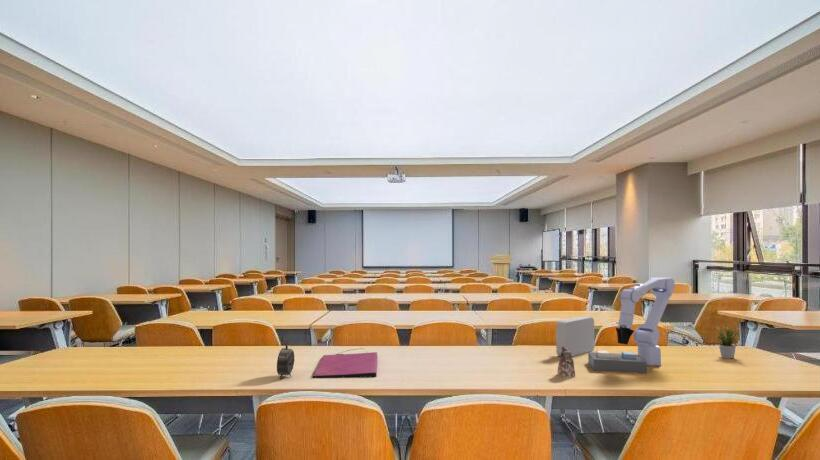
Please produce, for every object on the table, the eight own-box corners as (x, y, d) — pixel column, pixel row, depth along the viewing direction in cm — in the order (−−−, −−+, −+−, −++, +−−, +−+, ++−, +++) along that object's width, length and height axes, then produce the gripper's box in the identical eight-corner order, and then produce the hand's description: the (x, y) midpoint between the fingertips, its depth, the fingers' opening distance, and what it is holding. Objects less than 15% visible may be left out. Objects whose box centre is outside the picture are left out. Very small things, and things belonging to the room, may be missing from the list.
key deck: (638, 365, 208) (637, 354, 209) (646, 373, 195) (646, 362, 195) (588, 362, 213) (588, 352, 213) (593, 370, 200) (593, 359, 200)
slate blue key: (633, 362, 205) (633, 352, 205) (636, 364, 200) (636, 354, 200) (621, 361, 206) (621, 351, 206) (624, 364, 201) (624, 354, 201)
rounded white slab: (581, 347, 245) (581, 315, 246) (594, 350, 239) (594, 316, 240) (552, 355, 227) (551, 320, 228) (565, 358, 221) (565, 322, 222)
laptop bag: (376, 369, 189) (312, 371, 187) (376, 378, 189) (312, 381, 187) (377, 347, 229) (324, 349, 227) (377, 355, 229) (324, 357, 227)
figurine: (562, 378, 188) (562, 349, 188) (554, 373, 195) (554, 346, 195) (578, 377, 189) (577, 349, 189) (569, 372, 196) (569, 345, 196)
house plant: (753, 358, 222) (752, 325, 222) (742, 362, 214) (741, 328, 214) (720, 353, 233) (719, 321, 234) (708, 356, 226) (708, 324, 226)
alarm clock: (284, 373, 194) (284, 336, 195) (296, 373, 194) (296, 336, 195) (275, 380, 183) (276, 341, 184) (288, 381, 183) (289, 341, 184)
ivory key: (608, 360, 207) (607, 351, 207) (610, 363, 202) (610, 353, 203) (596, 360, 208) (596, 350, 209) (598, 362, 203) (598, 352, 204)
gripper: (614, 313, 215) (609, 341, 212) (621, 312, 201) (616, 342, 199) (629, 316, 213) (625, 344, 211) (638, 315, 199) (633, 346, 197)
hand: (622, 343), depth 204 cm, fingers open, 7 cm apart
